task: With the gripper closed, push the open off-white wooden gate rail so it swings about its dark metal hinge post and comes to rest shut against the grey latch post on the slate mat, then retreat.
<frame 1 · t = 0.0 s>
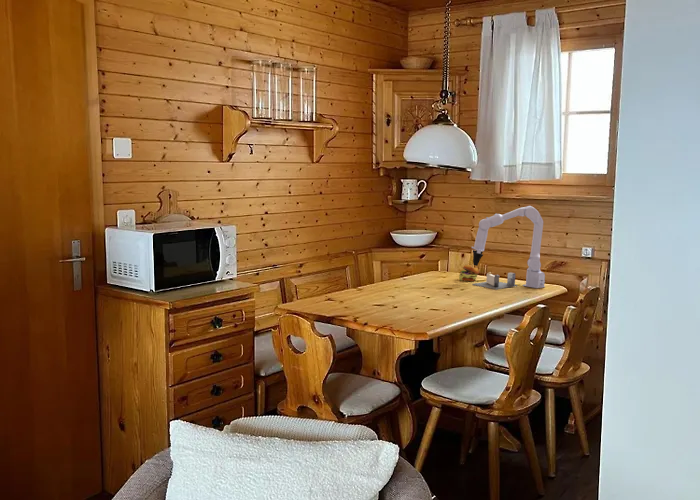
hand: (475, 264, 387), 11 cm above the table, fingers open, 7 cm apart
gate: (491, 278, 381), point 4 cm above the table, hinge at 60.0°
hinge post: (496, 288, 375), resting on mat
stile: (510, 285, 384), resting on mat
mat: (494, 285, 382), on the table
cheeseburger: (468, 280, 397), on the table
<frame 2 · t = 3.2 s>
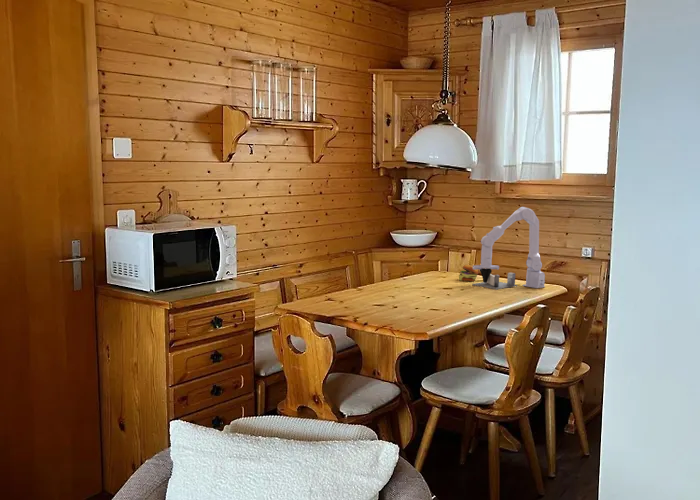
hand: (485, 282, 383), 2 cm above the table, fingers closed
gate: (491, 278, 381), point 4 cm above the table, hinge at 60.0°, touching gripper
everything else where it was.
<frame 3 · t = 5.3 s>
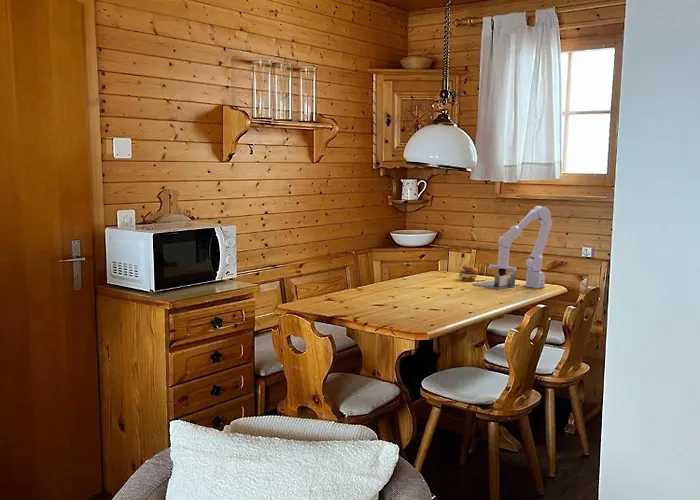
hand: (501, 282, 382), 2 cm above the table, fingers closed, pressing on gate
gate: (503, 279, 379), point 4 cm above the table, hinge at 0.5°, touching gripper
everything else where it was.
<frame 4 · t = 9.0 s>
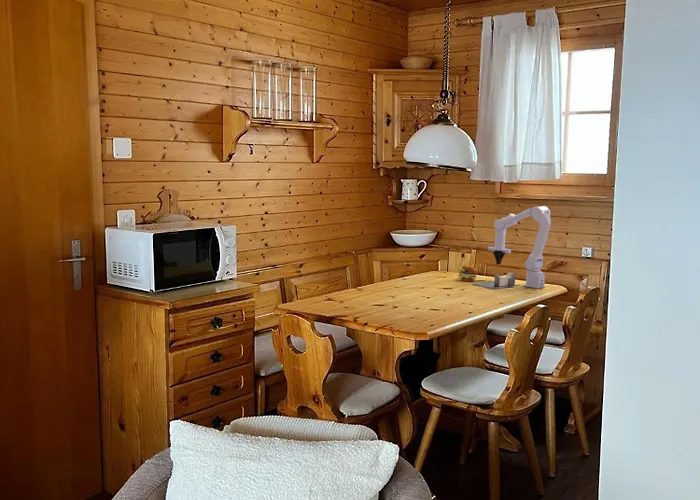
hand: (498, 264, 397), 9 cm above the table, fingers closed
gate: (504, 279, 379), point 4 cm above the table, hinge at -1.5°, touching stile
everything else where it was.
at the end: gate at -2° (first picture: +60°); stile moved 0.0 cm from its start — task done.
